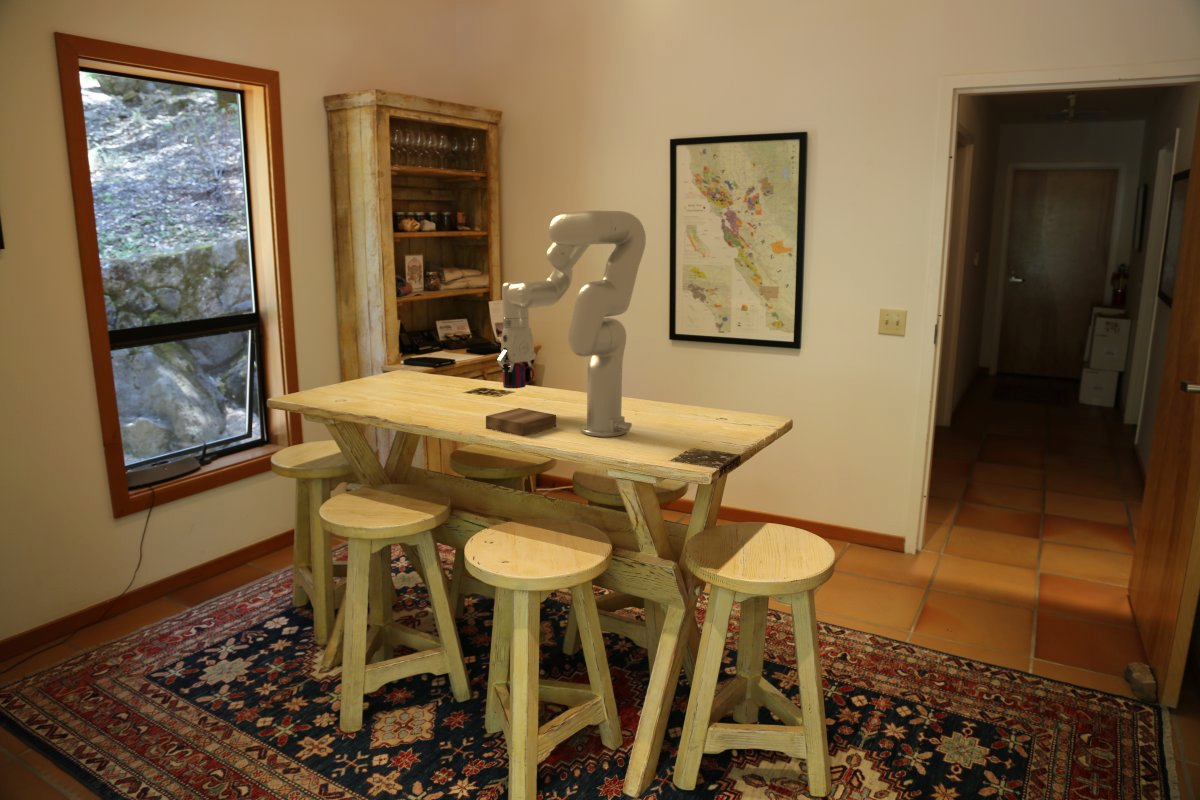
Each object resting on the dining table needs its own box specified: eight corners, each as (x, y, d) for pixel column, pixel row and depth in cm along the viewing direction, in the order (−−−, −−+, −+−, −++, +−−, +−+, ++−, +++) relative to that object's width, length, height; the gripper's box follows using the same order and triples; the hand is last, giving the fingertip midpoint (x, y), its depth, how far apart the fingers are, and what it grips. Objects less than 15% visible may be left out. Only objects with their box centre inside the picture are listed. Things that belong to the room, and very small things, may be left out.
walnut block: (556, 428, 240) (556, 414, 239) (523, 437, 229) (523, 423, 228) (519, 421, 248) (519, 407, 247) (485, 429, 237) (485, 416, 236)
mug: (511, 384, 258) (510, 362, 257) (539, 386, 253) (538, 364, 252) (498, 387, 253) (497, 365, 251) (526, 390, 248) (525, 367, 246)
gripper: (505, 326, 240) (507, 388, 244) (544, 321, 254) (546, 380, 257) (486, 325, 245) (488, 386, 248) (526, 320, 258) (528, 378, 262)
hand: (518, 382), depth 253 cm, fingers closed on mug, 6 cm apart
